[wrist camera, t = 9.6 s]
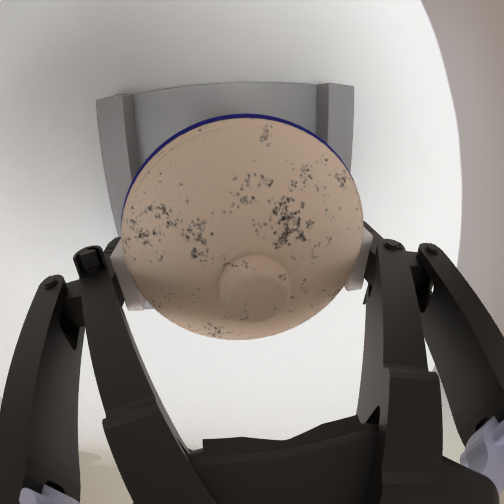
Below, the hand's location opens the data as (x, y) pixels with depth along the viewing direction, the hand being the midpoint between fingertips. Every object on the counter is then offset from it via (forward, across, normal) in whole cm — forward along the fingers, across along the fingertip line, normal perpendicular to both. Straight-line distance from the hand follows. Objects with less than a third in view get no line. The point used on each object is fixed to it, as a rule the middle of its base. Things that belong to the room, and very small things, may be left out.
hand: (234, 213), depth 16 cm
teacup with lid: (+2, 0, 0) cm, 2 cm away
